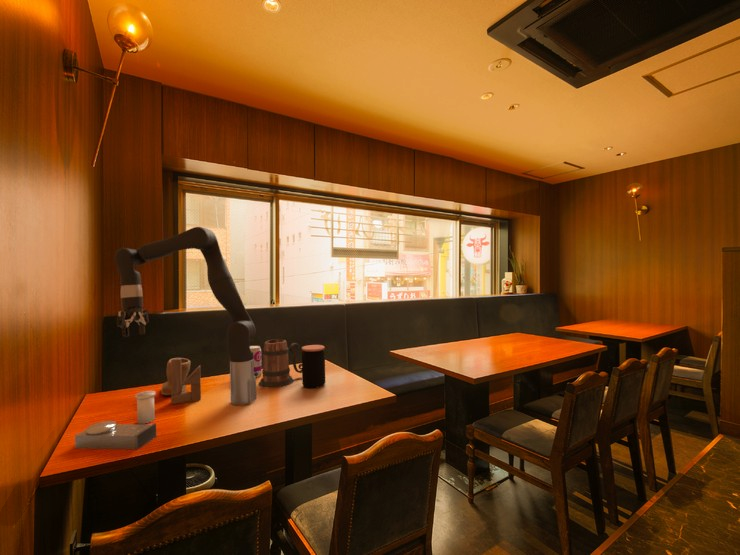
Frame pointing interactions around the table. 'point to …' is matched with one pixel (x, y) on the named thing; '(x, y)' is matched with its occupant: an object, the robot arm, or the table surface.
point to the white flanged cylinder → (145, 407)
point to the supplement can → (257, 360)
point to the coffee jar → (313, 366)
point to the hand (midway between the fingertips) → (134, 335)
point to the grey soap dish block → (115, 436)
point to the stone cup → (168, 385)
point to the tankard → (278, 364)
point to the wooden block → (177, 384)
